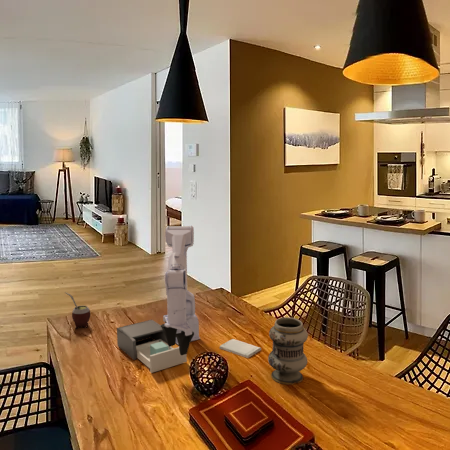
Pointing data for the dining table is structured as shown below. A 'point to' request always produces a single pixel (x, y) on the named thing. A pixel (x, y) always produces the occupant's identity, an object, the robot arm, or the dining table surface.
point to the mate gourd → (80, 315)
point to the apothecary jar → (287, 350)
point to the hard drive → (240, 348)
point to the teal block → (158, 348)
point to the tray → (159, 356)
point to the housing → (138, 335)
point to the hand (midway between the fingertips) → (177, 349)
